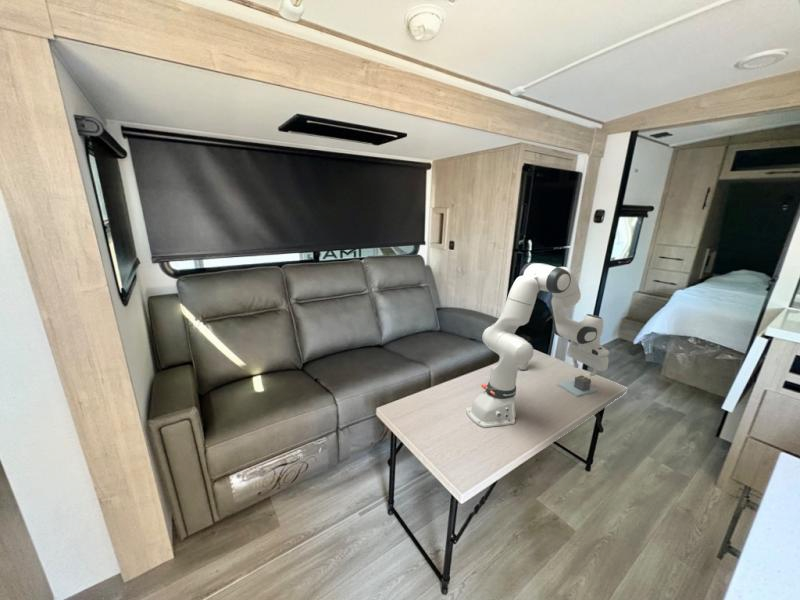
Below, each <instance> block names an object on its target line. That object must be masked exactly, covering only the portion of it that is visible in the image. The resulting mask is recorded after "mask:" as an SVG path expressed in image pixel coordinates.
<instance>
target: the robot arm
mask: <svg viewBox="0 0 800 600" xmlns="http://www.w3.org/2000/svg"><path fill="white" fill-rule="evenodd" d="M540 291H543V292H547V293H551V295H552V296H551V298H550V300H549V306H550V311H551V318H552V331H553V333H554V334H555V336H556V337H557V336H558V337H560V338H564V339H567V340H568V341H569V345H568V347H567V350H566V355H567V356H568V357H569V358H571V359H572V363H573V368H575V369H577V368H579V367H580V366H579V365H580V364H578V362H579V363H582V364H584V365H586V366H588V367H590V368H592V371H590V372H589V373H590V374H589V376H591V377H596V373H598V372H605V371H607V370H608V367H609V355H610V351H609V350H608V349H607V348H605V347H604V346H603V345H602V344H601V336H602V335H603V329H604V319H603V318H602V317H601V316H598V315H594V314H590V313H587V314H585V316H584V317H583V318H584V319H582V320H581V321H577V320H574V319H571V318H569V317H567V316H566V311H565V309H569V308H572V307H573V306H575V305H576V304H578V303H579V301H580V300H581V294H582V293H581V289H580V286H579V284H578V280H577V277H575V274H574V273H573V271H572V270H571V269H570V268H569V267H566V266H558V267H557V266H553V265H550V264H547V263H540V262H539V263H538V262H529V263H525V264H524V265H523V267H522V268H521V270H520V271H519V276H518V277H516V279H515V280H514V281H513V284H512V286H511V287H510V290H509V292H508V295H507V297H506V301H505V304H504V306H503V310H502V311H501V314H500V316H499V318H498V319H497V320H496V322H495V323H493V324H492V325H490V326H488V327H486V328H485V329H484V331H483V333H482V338H481V339H482V342H483V344H485V346H486V347H487V348H488V349H489V350H491V351H493V352H494V353H496V354H497V355H498V356H499V360H498V361H496V362H495V363H493V364H492V365H491V367H490V373H489V381H488V383H487V384H485V383H482V384H481V385H480V386H481V389H482V388H483V391H482V392H481V393H480V394H479V395H477V396H476V397H475V398H474V399H473V401H472V404H471V406H468V407H467V408H466V409H465V410H466V411H465V413H466V415H467V416H468V418H469V419H470V420H471V421H472V422H473V423H475V424H476V425H478V426H479V427H481V428H484V429H485V428H491V427H499V426H500V427H501V426H507V425H508V426H509V425H514V424H515V423H516V417H517V411H516V408H515V406H516V405H515V403H516V402H515V397H516V392H517V385H516V384H517V377H518V372H519V371H520V370H519V368H520V366H522V365H524V364H526V363H528V364H529V362H530V361H531V360H532V359H533V356H534V347H533V345H532V344H531V343H530V344H529V343H528V342H527V341H526V340H525V339H523V338H521V337H520V335H517V334H515V333H516V331H517V330H518V329H519V327H521V326H525V325H526V324H528V323H529V322H530V318H531V316H532V313H533V310H534V307H535V304H536V300H537V296H538V293H539V292H540Z"/></svg>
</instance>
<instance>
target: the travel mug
mask: <svg viewBox="0 0 800 600" xmlns="http://www.w3.org/2000/svg"><path fill="white" fill-rule="evenodd" d="M519 337H521V338H523V339H525V340H526V341H527V342H528V343H529V344H530V345H531V343H532V342H531V340H532V338H531V336H529V335H527V334H521V335H519ZM528 366H529V362H528V363H526V364H524V365H522V366H520V368H519V370H518V371H520V372H521V371H523V372H524V371H528Z"/></svg>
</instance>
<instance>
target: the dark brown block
mask: <svg viewBox="0 0 800 600" xmlns="http://www.w3.org/2000/svg"><path fill="white" fill-rule="evenodd" d="M574 379H575V383H574V387H576V388H577V389H579V390H581V391H585V390H588V389H590V386H591V382H592V380H591V379H590V378H588V376H585V375H583V374H582V375H578V376H576V377H574Z"/></svg>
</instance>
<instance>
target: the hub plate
mask: <svg viewBox="0 0 800 600" xmlns="http://www.w3.org/2000/svg"><path fill="white" fill-rule="evenodd" d="M574 383H575V378H574V379H570V380H566V381H561V382H558V383H557V384H556V385H557V387H559V388H561V389H563V390H565V391H566V392H568V393H570V394H571V395H573V396H575V397H577V398H579V397H581V396H585V395H588V394H592V393H595V392H598V389H597V388H595V387H592V385H590V389H588V390H585V391H581V390H579V389H577V388H576V387H574Z"/></svg>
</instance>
